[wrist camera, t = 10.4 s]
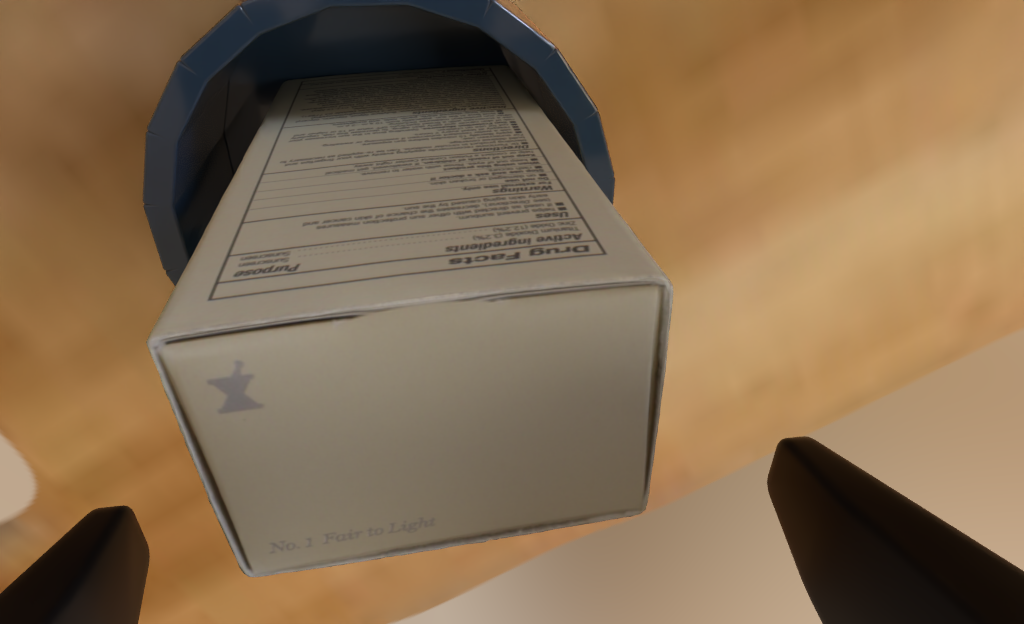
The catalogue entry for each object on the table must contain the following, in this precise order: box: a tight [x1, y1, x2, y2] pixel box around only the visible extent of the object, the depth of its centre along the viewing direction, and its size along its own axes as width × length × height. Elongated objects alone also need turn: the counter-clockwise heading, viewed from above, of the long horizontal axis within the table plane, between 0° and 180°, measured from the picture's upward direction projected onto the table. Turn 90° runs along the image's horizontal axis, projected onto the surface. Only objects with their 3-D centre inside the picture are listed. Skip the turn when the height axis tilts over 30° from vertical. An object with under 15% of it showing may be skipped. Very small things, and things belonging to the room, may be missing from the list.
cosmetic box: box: [146, 65, 673, 577], centre depth 14 cm, size 6×4×12 cm
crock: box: [143, 0, 615, 286], centre depth 17 cm, size 10×10×6 cm
